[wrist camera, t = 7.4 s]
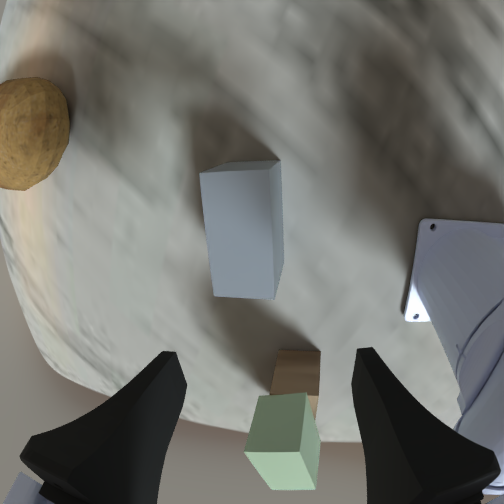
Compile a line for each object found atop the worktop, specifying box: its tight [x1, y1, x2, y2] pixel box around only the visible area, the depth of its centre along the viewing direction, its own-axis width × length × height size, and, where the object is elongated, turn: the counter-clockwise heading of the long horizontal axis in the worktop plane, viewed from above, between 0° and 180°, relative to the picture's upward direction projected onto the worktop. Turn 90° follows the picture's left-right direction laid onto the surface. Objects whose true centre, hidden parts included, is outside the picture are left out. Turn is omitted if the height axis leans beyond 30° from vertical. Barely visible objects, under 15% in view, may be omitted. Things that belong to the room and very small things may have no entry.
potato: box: [0, 77, 70, 191], centre depth 17 cm, size 10×14×8 cm
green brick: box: [244, 392, 321, 490], centre depth 18 cm, size 7×4×5 cm, turn 17°
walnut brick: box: [270, 350, 321, 420], centre depth 23 cm, size 7×4×5 cm, turn 3°
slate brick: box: [199, 160, 284, 300], centre depth 17 cm, size 7×4×5 cm, turn 3°
